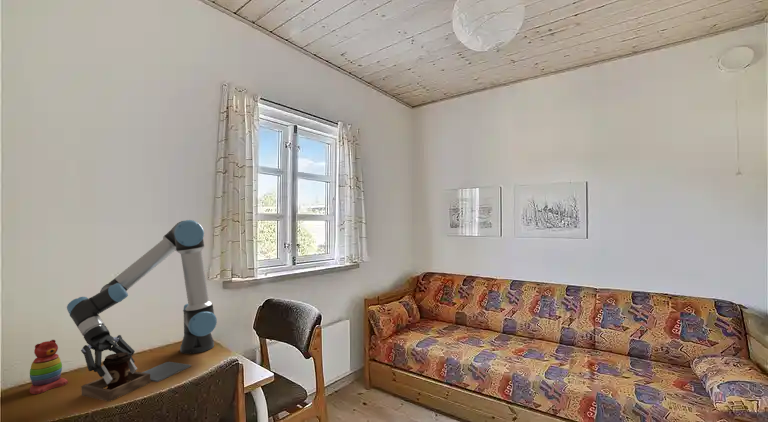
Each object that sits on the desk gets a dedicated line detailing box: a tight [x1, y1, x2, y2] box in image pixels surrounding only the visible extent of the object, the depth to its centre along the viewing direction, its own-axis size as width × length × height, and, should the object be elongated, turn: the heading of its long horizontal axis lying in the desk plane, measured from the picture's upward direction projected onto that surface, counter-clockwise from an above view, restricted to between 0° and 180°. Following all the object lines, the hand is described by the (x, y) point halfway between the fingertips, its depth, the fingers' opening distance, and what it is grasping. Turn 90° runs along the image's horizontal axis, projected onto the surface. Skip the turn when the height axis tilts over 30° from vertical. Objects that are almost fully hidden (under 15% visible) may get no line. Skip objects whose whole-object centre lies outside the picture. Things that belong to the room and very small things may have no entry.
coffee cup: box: [102, 352, 131, 390], centre depth 139 cm, size 9×8×13 cm
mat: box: [142, 361, 192, 383], centre depth 154 cm, size 16×14×1 cm
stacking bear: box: [29, 339, 69, 395], centre depth 143 cm, size 11×10×18 cm
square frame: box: [80, 370, 151, 402], centre depth 139 cm, size 15×15×4 cm
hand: (122, 376), depth 138 cm, fingers closed on coffee cup, 9 cm apart
